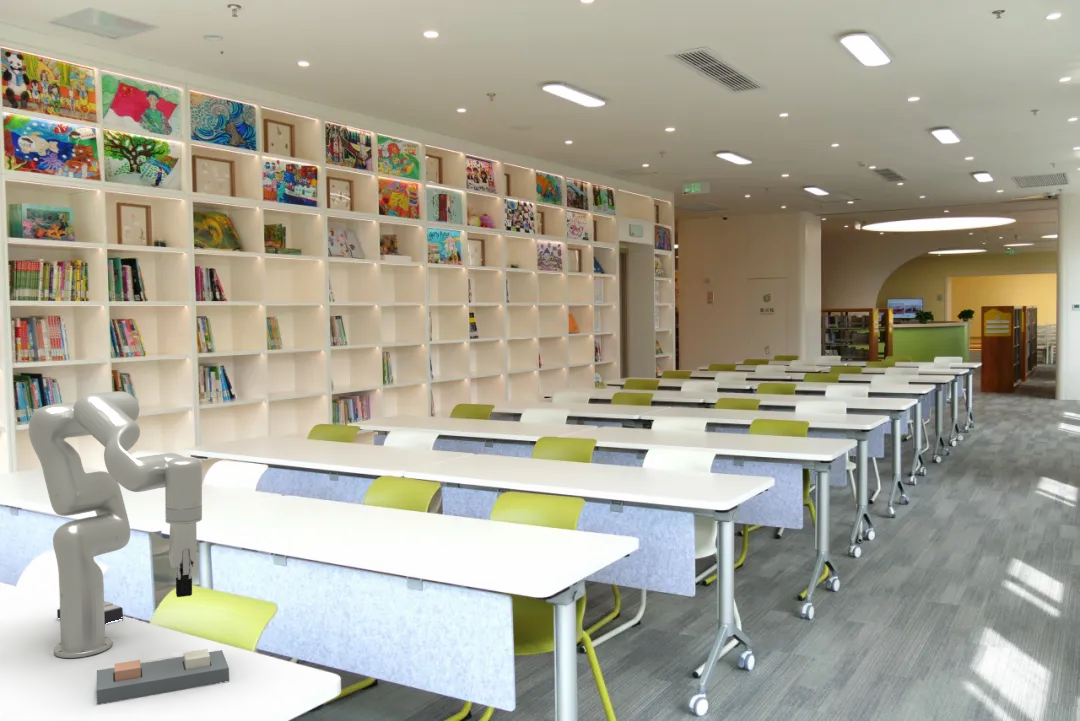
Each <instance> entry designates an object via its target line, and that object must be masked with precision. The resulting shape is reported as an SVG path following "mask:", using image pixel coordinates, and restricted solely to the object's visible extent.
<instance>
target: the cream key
mask: <svg viewBox="0 0 1080 721" xmlns="http://www.w3.org/2000/svg"><path fill="white" fill-rule="evenodd" d="M209 652H210V651H209V650H208V648H205V649H199V650H191V651H187V652H183V656H184V670H188V669H194V668H200V667H206V666H210V655H209Z"/></svg>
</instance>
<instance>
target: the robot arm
mask: <svg viewBox="0 0 1080 721" xmlns="http://www.w3.org/2000/svg"><path fill="white" fill-rule="evenodd" d="M139 413H140V406H139V403H138V401H137V399H136V398H135V396H133V395H132V394H131V393H129V392H127V391H106V392H94V393H93V392H92V393H88V394H86V395H83V396H81V397H80V398H78V399H77V400H76V401H75V402H62V403H60V402H59V403H53V404H48V405H44V406H42V407H39V408H38V409H36V410H35V411H34V412H33V413H32V414H31V416H30V419H29V421H28V422H29V423H28V437H29V440H30V444H31V446H32V448H33V450H34V452H35V454H36V455H37V459H38V460H39V462H40V465H41V468H42V473H43V478H44V481H45V485H46V490H47V494H48V497H49V502H50V504H51V507H52V510H53V511H54V513H56V515H58V516H61V517H63V516H64V517H66V516H67V517H68V516H74V515H80V514H85V513H90V512H95V515H94V516H88V517H83V518H79V519H73V520H71V521H68V522H65V523H63V524H62V525H60V526H59V527H58V528H57V529H56V530H55V532H54V534H53V537H52V544H53V551H54V555H55V559H56V564H57V569H58V570H57V571H58V587H59V588H58V589H59V590H58V591H59V609H60V620H59V623H60V626H59V627H60V642H59V643H58V644H56V645H55V646H54V648H53V654H54V656H56V657H59V658H62V659H63V658H64V659H74V658H75V659H76V658H77V659H78V658H85V657H90V656H94V655H96V654H97V655H98V654H101V653H102V652H105V651H107V650H108V649H110V648H111V647H112V645H113V639H112V637H109V636H107V635H106V629H105V628H106V625H105V617H104V601H105V590H104V588H105V587H104V586H105V584H104V574H103V570H102V569H101V567H100V566H99V565H98V563H97V562H96V561H95V560H94V558H95V557H97V556H100V555H104V554H108V553H112V552H115V551H119V550H122V549H124V547H126V546H127V545H128V543H129V541H130V539H131V527H130V522H129V518H128V513H127V509H126V505H125V501H124V498H123V494H122V493H123V492H122V490H121V487H123V488H124V489H126V490H127V491H130V492H135V493H142V492H147V491H151V490H156V489H163V488H165V489H164V490H165V492H164V493H165V494H164V495H165V509H164V510H165V511H164V512H165V523H166V524H169V546H168V547H169V548H168V549H169V551H168V559H169V563H170V567H171V569H173V570H175V569H176V577H175V595H176V597H177V598H182V597H183V598H184V597H191V596H192V595H193V577H192V568H193V567H195V566H197V565H196V564H197V523H199V522H200V521H203V472H202V471H203V465H202V462H201V460H200V459H198V458H195V457H185V456H182V455H180V454H178V453H173V452H168V453H161V454H153V455H145V456H141V457H134V456H133V455H131V453H129V452H128V451H129V450H130V449H132V447H134V446H135V445H136V443H137V442H138V440H139V438H140V435H141V429H140V426H139V424H138V423H137V419H138V417H139ZM85 436H92V437H93V438H94V439H95V440H96V441H98V442H99V443H100V444H101V446H103V447H104V451H103V452H104V453H103V458H104V459H103V460H104V464H105V465H104V466H105V467H106V471H93V472H88V473H87V472H85V470H84V467H83V463H82V459H81V458H82V457H81V456H80V454H79V453H78V451H77V450H76V449H75V448H74V447H73V445H71V444H70V443H69V442H67V441H66V438H67V439H68V438H75V437H76V438H77V437H78V438H79V437H85ZM120 485H121V486H120Z"/></svg>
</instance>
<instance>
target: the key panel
mask: <svg viewBox="0 0 1080 721" xmlns="http://www.w3.org/2000/svg"><path fill="white" fill-rule="evenodd" d="M208 652H209V655H210V666H206V667H200V668H194V669H188V670H184V655H183V656H178V657H171V658H164V659H160V660H153V661H147V662H140V666H141V677H140V678H134V679H128V680H122V681H117V682H115V666H114V667H110V668H103V669H97V670H96V705H97V704H98V705H102V704H101V703H104V704H108V703H107V702H109V703H115V702H120V700H121V701H125V700H131V698H132V699H137V698H143V697H148V696H152V695H154V696H155V695H160V694H164V693H171V692H177V691H182V690H188V689H193V688H199V687H203V686H204V687H206V686H211V685H215V684H216V683H217V684H221V683H220V682H222V683H226V682H225V681H228V682H230V667H229V665H228V662H227V660H226V658H225V655H224V650H222V649H221V650H214V651H208ZM114 701H115V702H114Z"/></svg>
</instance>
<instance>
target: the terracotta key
mask: <svg viewBox="0 0 1080 721" xmlns="http://www.w3.org/2000/svg"><path fill="white" fill-rule="evenodd" d="M140 663H141V660H140V659H136V660H130V661H125V662H123V661H121V662H116V663H114V667H115V682H117V681H122V680H128V679H134V678H140V677H141V666H140Z"/></svg>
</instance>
